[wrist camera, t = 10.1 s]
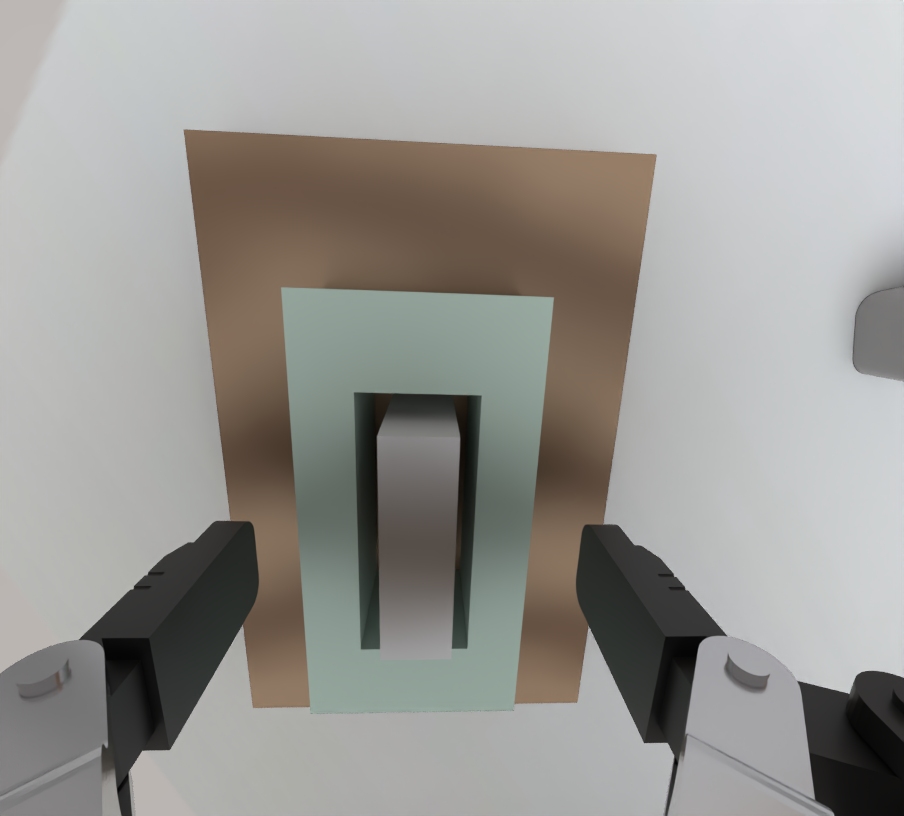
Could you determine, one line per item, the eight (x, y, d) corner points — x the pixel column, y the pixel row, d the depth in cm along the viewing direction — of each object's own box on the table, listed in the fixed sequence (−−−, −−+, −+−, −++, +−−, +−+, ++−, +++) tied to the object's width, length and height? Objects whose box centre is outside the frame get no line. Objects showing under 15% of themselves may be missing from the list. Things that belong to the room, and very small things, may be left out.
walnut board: (562, 661, 19) (625, 840, 13) (271, 664, 18) (189, 855, 12) (625, 173, 14) (784, 75, 8) (220, 153, 13) (27, 27, 7)
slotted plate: (496, 622, 16) (513, 710, 13) (336, 622, 16) (310, 713, 12) (521, 295, 13) (554, 297, 9) (322, 288, 12) (281, 287, 9)
